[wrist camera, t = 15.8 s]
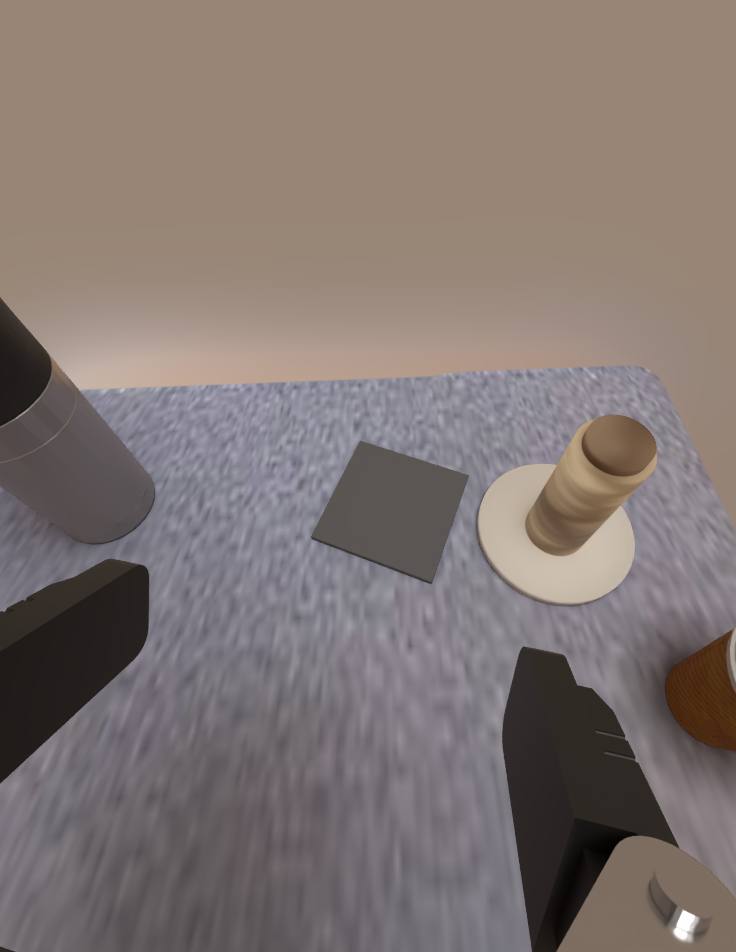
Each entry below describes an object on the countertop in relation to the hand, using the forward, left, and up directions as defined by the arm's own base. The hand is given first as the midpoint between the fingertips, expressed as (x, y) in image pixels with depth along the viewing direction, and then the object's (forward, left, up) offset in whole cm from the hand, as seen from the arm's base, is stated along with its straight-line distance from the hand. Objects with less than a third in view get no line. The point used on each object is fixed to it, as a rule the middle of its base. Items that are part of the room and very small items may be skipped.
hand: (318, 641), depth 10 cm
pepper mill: (+10, +21, -29) cm, 38 cm away
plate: (+10, +22, -31) cm, 39 cm away
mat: (-5, +19, -31) cm, 36 cm away
